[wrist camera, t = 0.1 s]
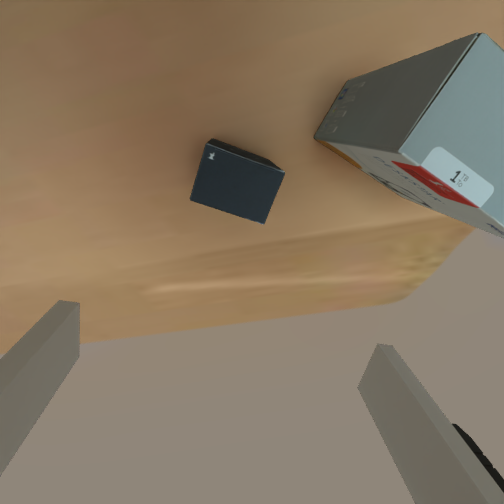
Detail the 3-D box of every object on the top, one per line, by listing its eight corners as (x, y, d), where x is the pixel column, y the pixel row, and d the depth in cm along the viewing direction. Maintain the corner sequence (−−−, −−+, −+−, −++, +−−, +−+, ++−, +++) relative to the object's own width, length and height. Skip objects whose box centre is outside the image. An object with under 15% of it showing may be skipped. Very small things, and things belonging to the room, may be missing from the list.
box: (198, 182, 38) (187, 200, 28) (211, 137, 36) (205, 140, 26) (256, 202, 39) (265, 226, 29) (271, 160, 37) (287, 171, 27)
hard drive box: (310, 138, 37) (393, 148, 18) (347, 77, 34) (485, 17, 16) (403, 199, 40) (548, 258, 22) (442, 148, 38) (639, 166, 20)
